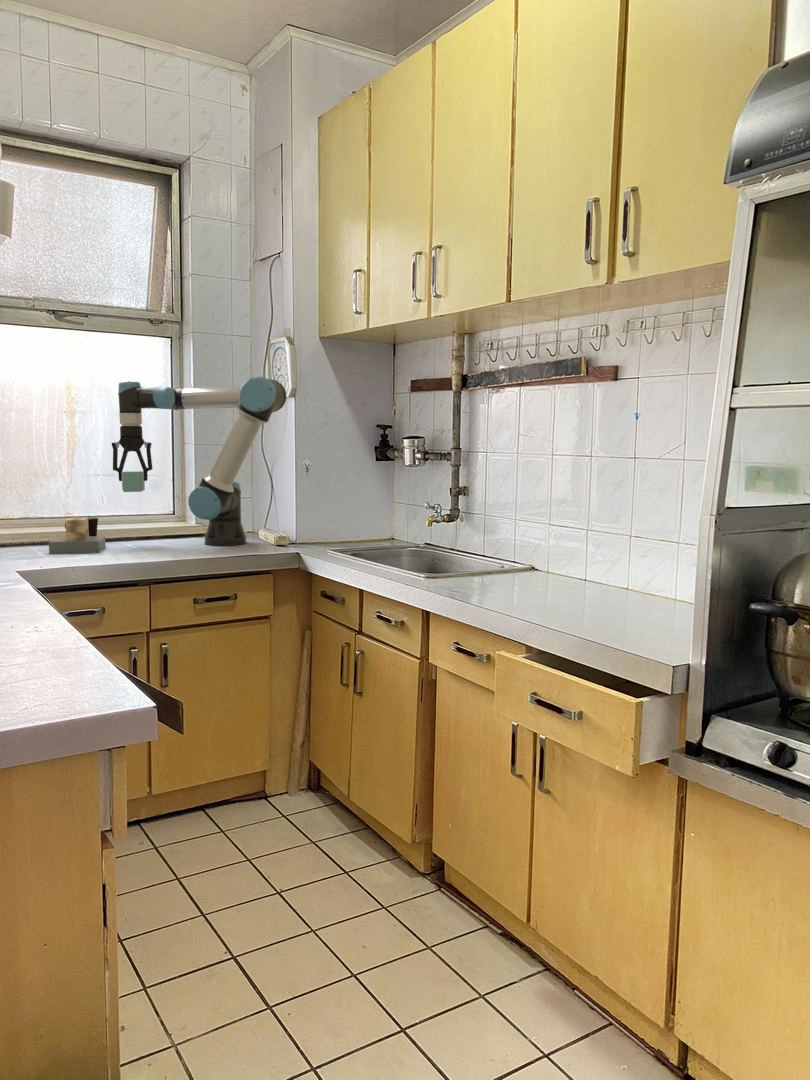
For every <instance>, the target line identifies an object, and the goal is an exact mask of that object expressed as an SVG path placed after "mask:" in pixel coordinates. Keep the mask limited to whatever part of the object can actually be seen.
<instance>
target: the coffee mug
mask: <svg viewBox="0 0 810 1080" xmlns="http://www.w3.org/2000/svg"><path fill="white" fill-rule="evenodd" d="M75 518H88V526H89V536H98V524H99V517H98V516H79V517H75ZM64 529H65V530H66V524H64Z"/></svg>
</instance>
